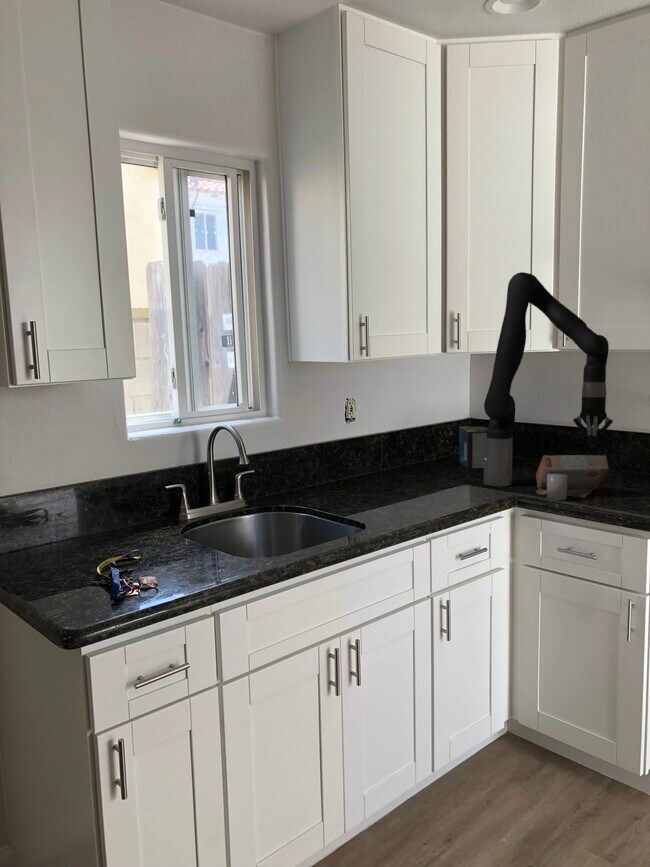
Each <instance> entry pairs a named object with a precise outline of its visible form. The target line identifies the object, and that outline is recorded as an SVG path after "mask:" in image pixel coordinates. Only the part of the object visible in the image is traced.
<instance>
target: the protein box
mask: <svg viewBox="0 0 650 867" xmlns="http://www.w3.org/2000/svg"><path fill="white" fill-rule="evenodd" d="M487 428H488V427H485V426H483V425H481V426H459V430H458V432H459V433H458V434H459V436H458V437H459V438H458V440H459V441H458V444H459V445H458V446H459V448H458V452H459V453H458V457H459V458H458V461H459V464H461V465H462V466H463V467H465V468H466V469H467V470H472V469H473V470H477V469H479V470H480V469H481V470H483V469H484V458H486V431H487Z"/></svg>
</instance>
